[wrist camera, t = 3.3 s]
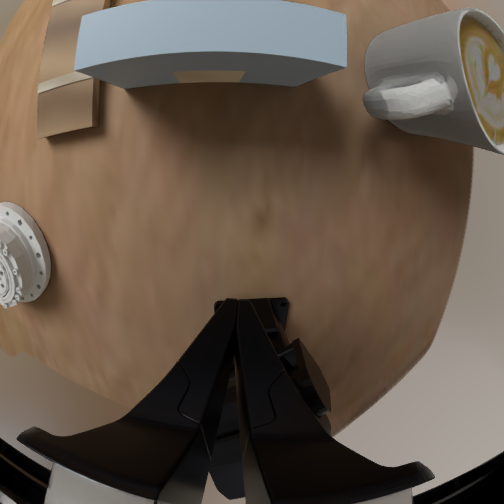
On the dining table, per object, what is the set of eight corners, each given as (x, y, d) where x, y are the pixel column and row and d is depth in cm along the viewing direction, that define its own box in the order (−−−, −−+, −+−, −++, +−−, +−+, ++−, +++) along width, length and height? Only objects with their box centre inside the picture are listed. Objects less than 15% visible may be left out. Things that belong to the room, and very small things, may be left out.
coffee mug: (430, 34, 14) (509, 24, 5) (453, 128, 19) (533, 148, 10) (310, 31, 14) (384, -21, 6) (345, 150, 19) (437, 178, 10)
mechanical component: (67, 247, 19) (0, 179, 15) (44, 273, 15) (-31, 193, 11) (36, 310, 21) (-22, 253, 17) (19, 337, 17) (-44, 273, 13)
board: (98, 126, 15) (91, 126, 14) (45, 137, 15) (37, 139, 14) (122, -42, 8) (118, -49, 7) (69, -26, 8) (64, -31, 7)
